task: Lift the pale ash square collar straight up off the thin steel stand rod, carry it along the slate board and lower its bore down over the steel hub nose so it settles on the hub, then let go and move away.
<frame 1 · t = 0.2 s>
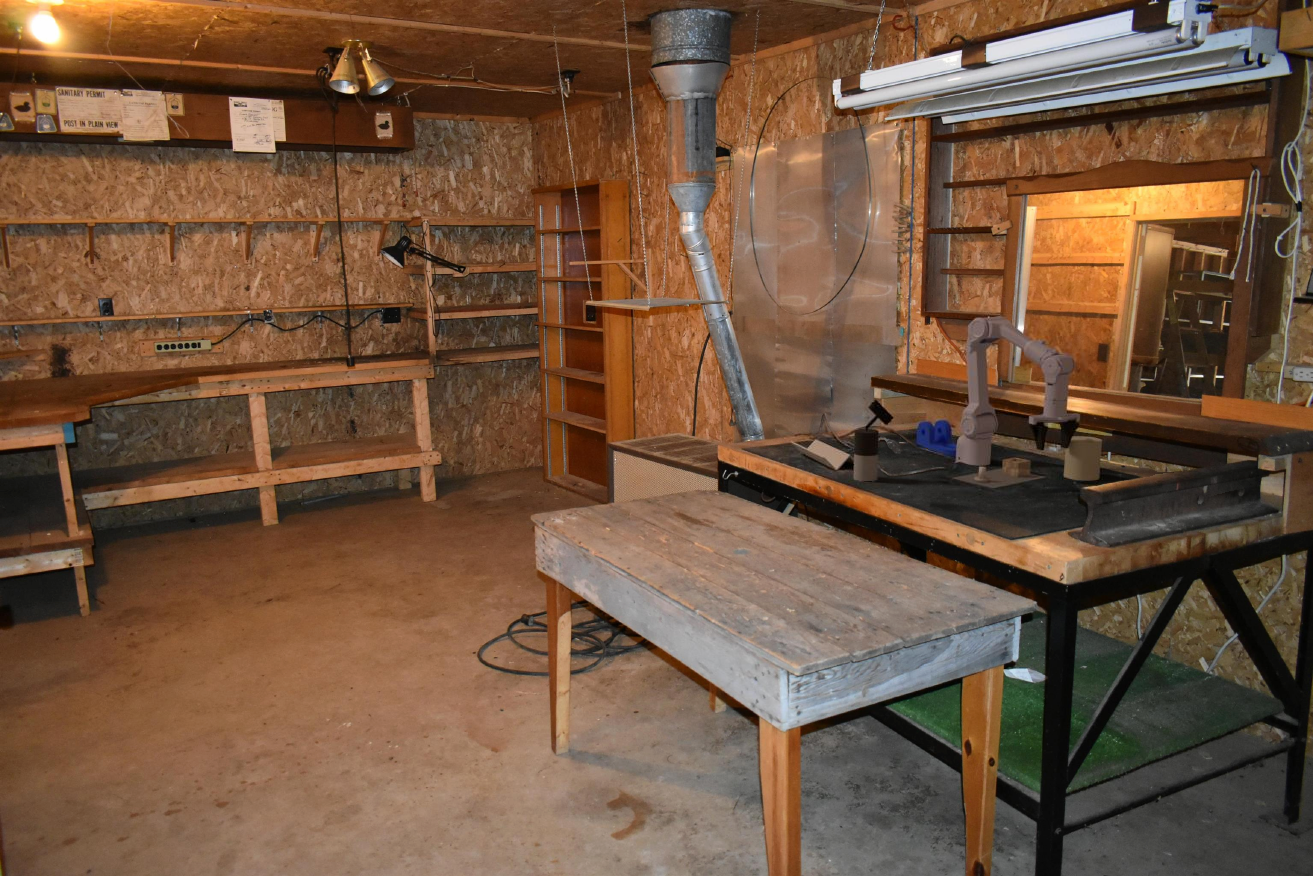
hand: (1052, 448, 250), 10 cm above the table, tool pointing down, fingers open, 7 cm apart
can: (1081, 480, 255), on the table
ash collar: (1015, 474, 259), point 1 cm above the table, touching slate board
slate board: (998, 481, 255), on the table
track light: (872, 479, 261), on the table
bracket: (943, 451, 296), on the table
beige v-shaped trough: (825, 462, 284), on the table
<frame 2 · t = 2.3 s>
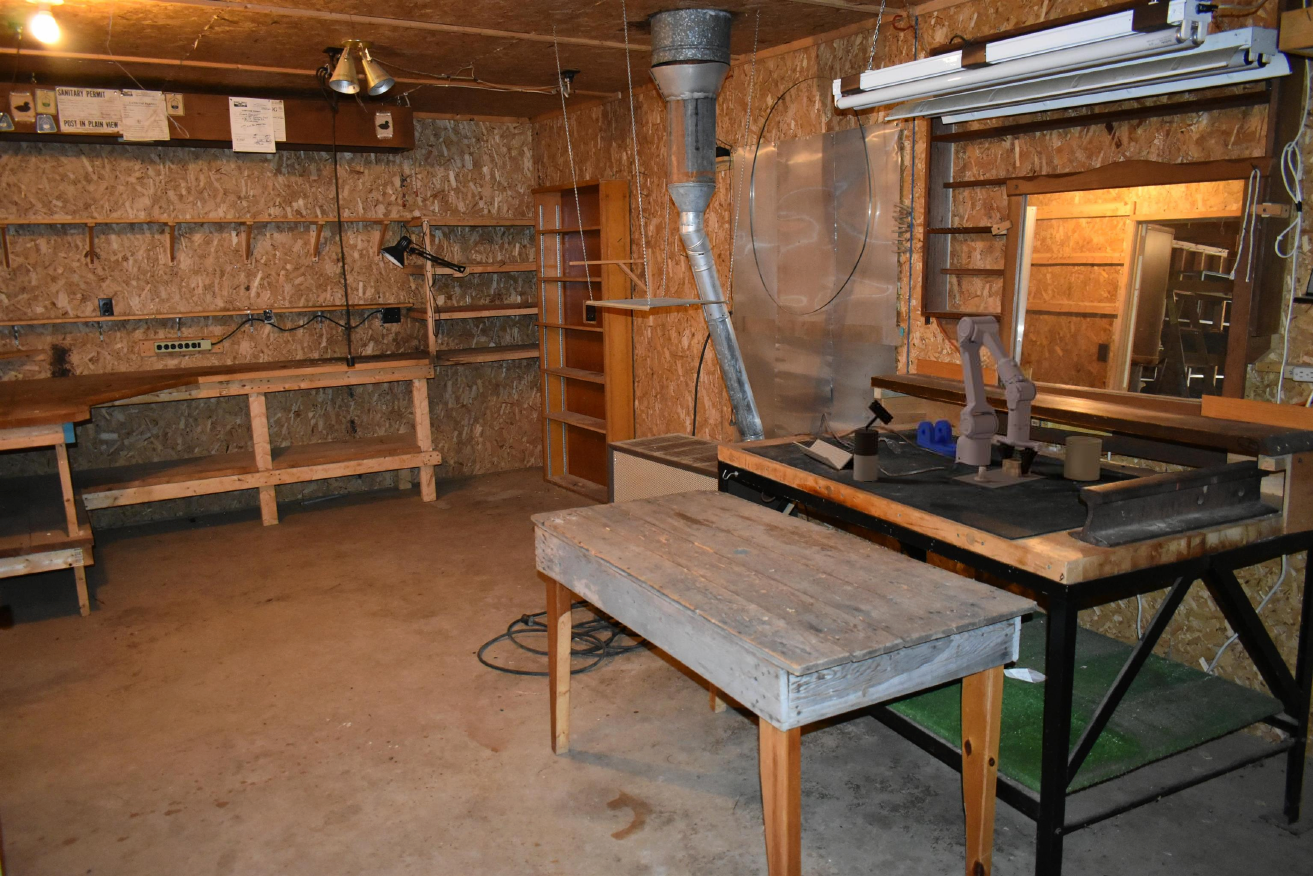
hand: (1016, 472, 259), 2 cm above the table, tool pointing down, fingers closed on ash collar, 5 cm apart
ash collar: (1015, 474, 259), point 1 cm above the table, touching gripper, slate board
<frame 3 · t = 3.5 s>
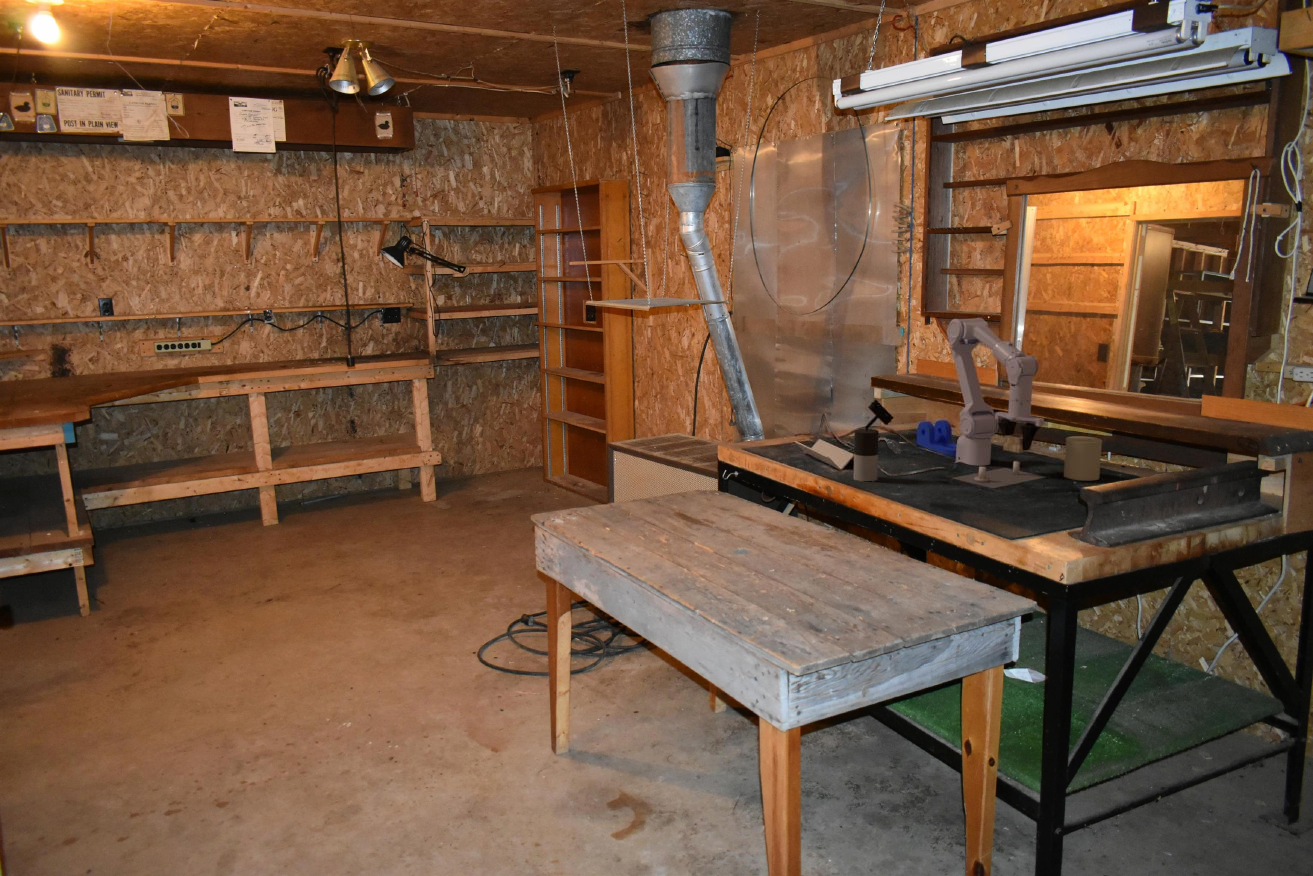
hand: (1017, 448, 257), 8 cm above the table, tool pointing down, fingers closed on ash collar, 5 cm apart
ash collar: (1017, 450, 257), point 8 cm above the table, touching gripper
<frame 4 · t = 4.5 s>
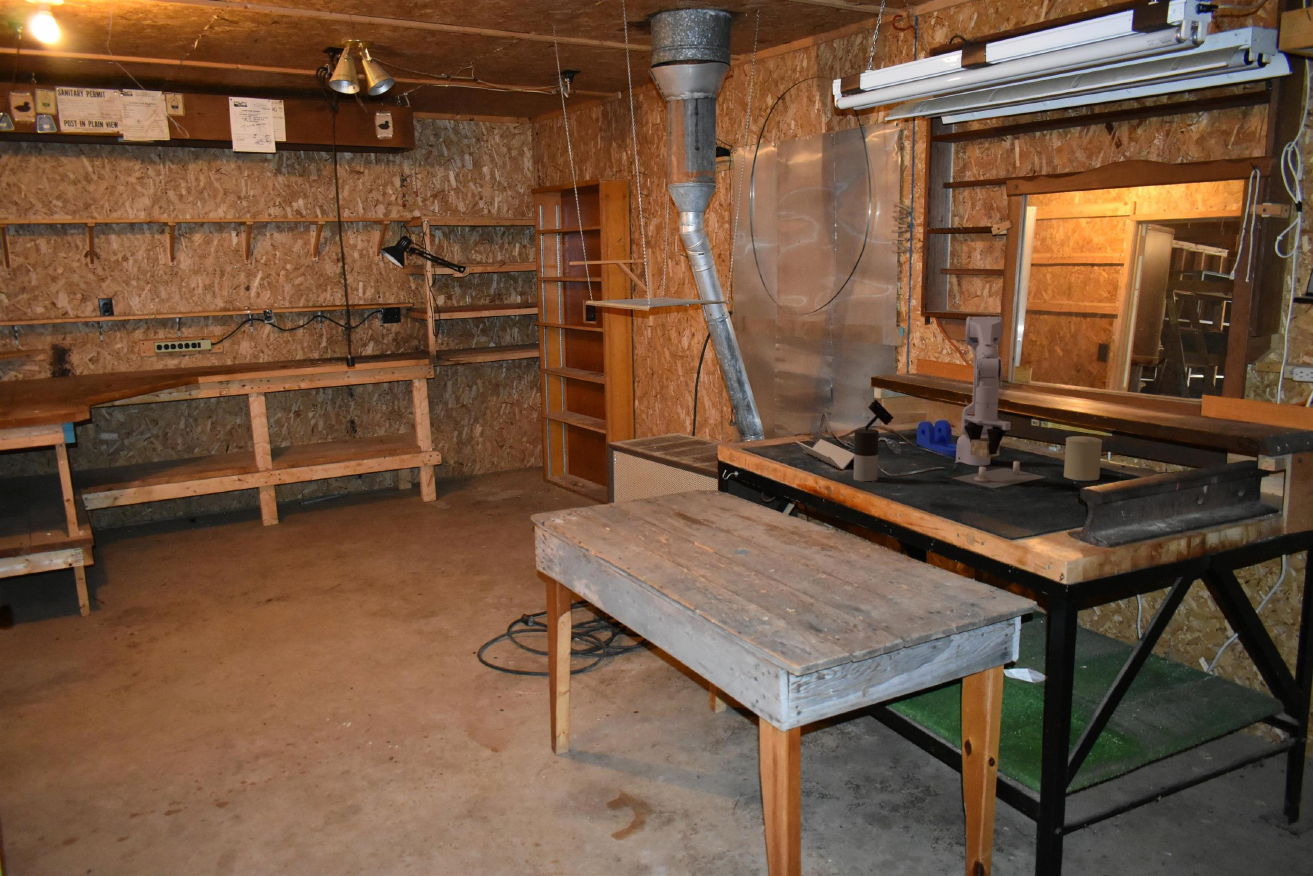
hand: (984, 452, 250), 9 cm above the table, tool pointing down, fingers closed on ash collar, 5 cm apart
ash collar: (984, 454, 251), point 8 cm above the table, touching gripper
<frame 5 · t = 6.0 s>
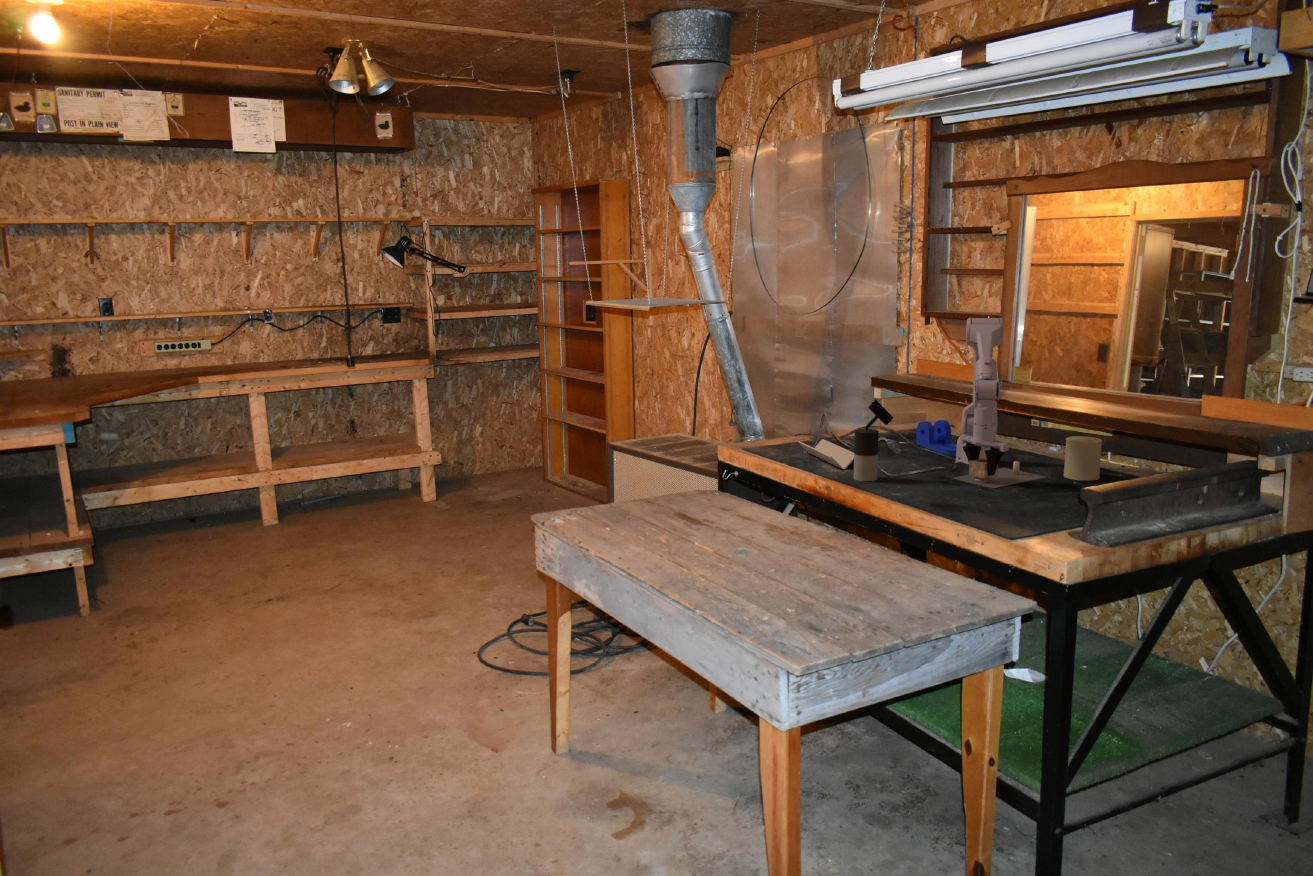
hand: (982, 473, 251), 3 cm above the table, tool pointing down, fingers closed on ash collar, 5 cm apart
ash collar: (982, 475, 251), point 2 cm above the table, touching gripper
when the fingers open (3 cm above the table, at t = 7.1 s): ash collar stays where it is, resting on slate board.
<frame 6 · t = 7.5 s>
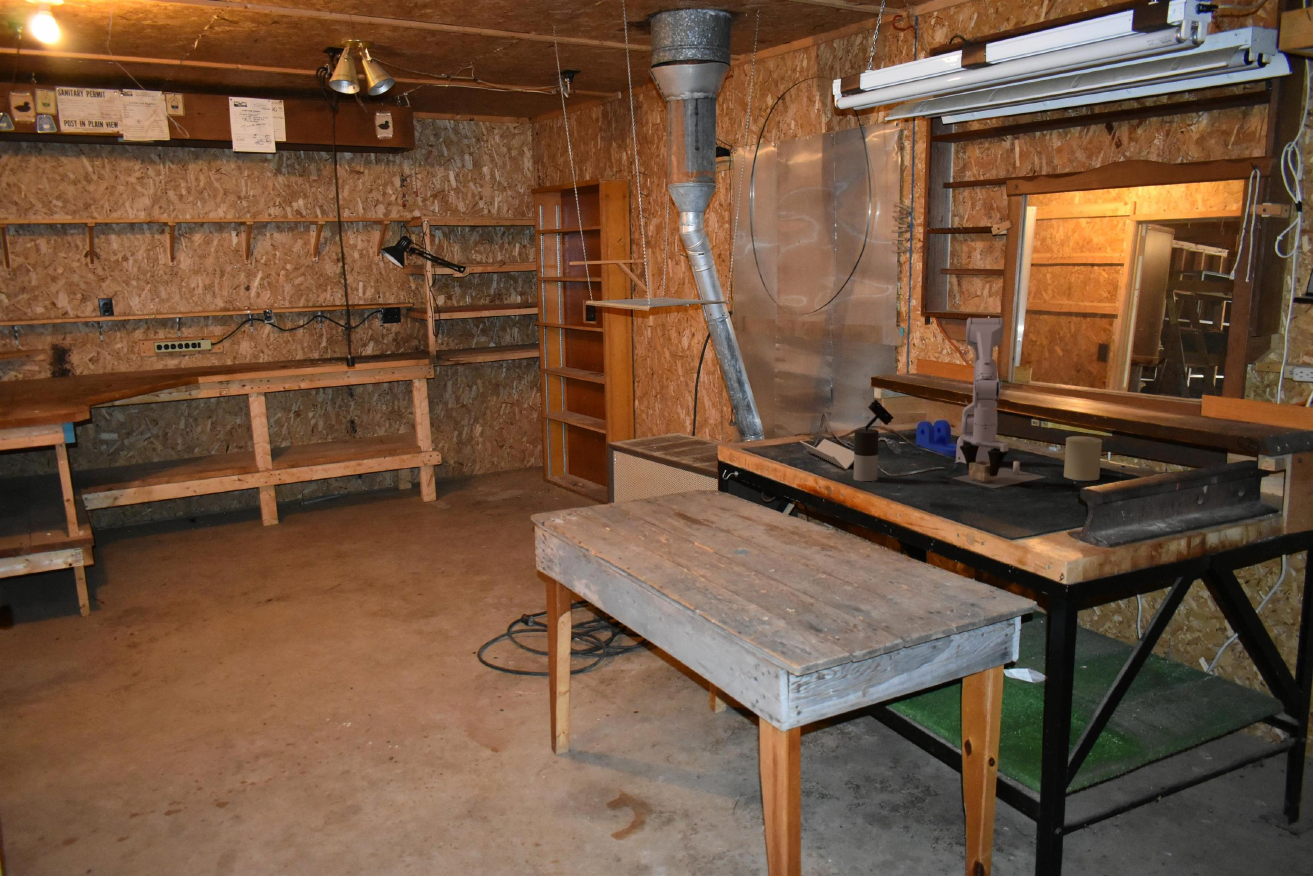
hand: (982, 473, 251), 3 cm above the table, tool pointing down, fingers open, 7 cm apart
ash collar: (982, 477, 252), point 2 cm above the table, touching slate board
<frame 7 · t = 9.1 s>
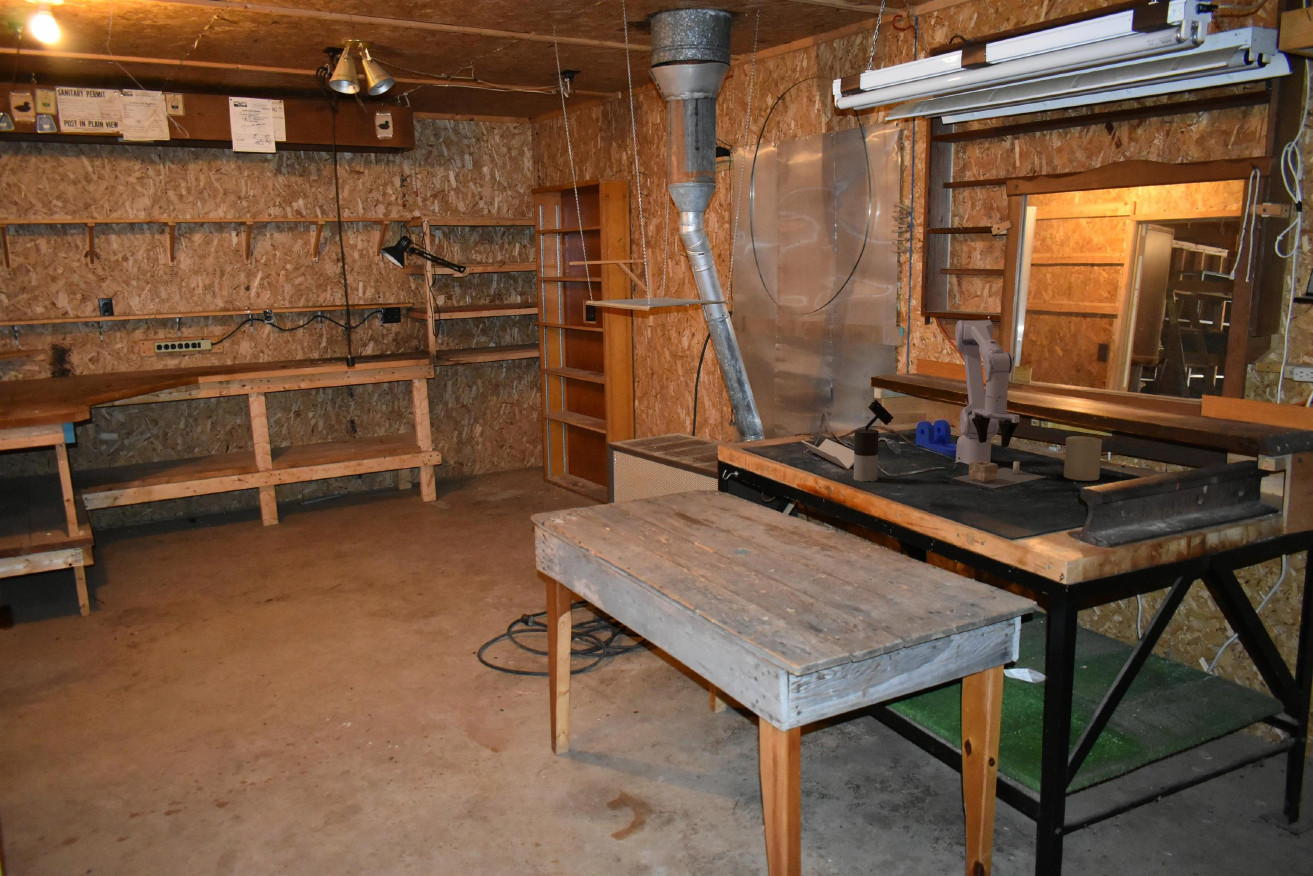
hand: (993, 444, 258), 9 cm above the table, tool pointing down, fingers open, 7 cm apart
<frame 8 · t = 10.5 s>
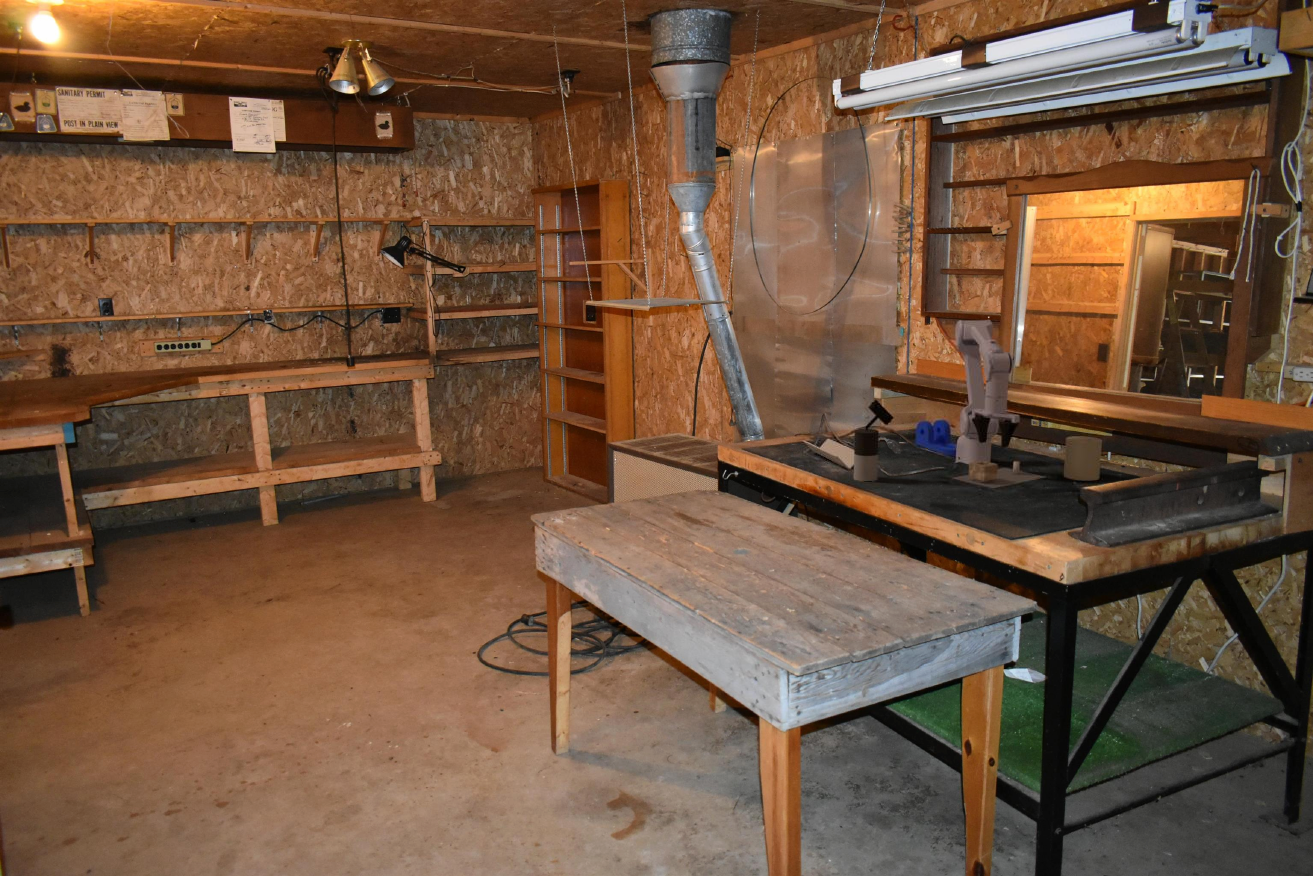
hand: (993, 444, 258), 9 cm above the table, tool pointing down, fingers open, 7 cm apart
at the end: ash collar 0.3 cm from the target spot, point 1.8 cm above the table; ash collar moved 13.7 cm from its start; the gripper is holding nothing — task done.
